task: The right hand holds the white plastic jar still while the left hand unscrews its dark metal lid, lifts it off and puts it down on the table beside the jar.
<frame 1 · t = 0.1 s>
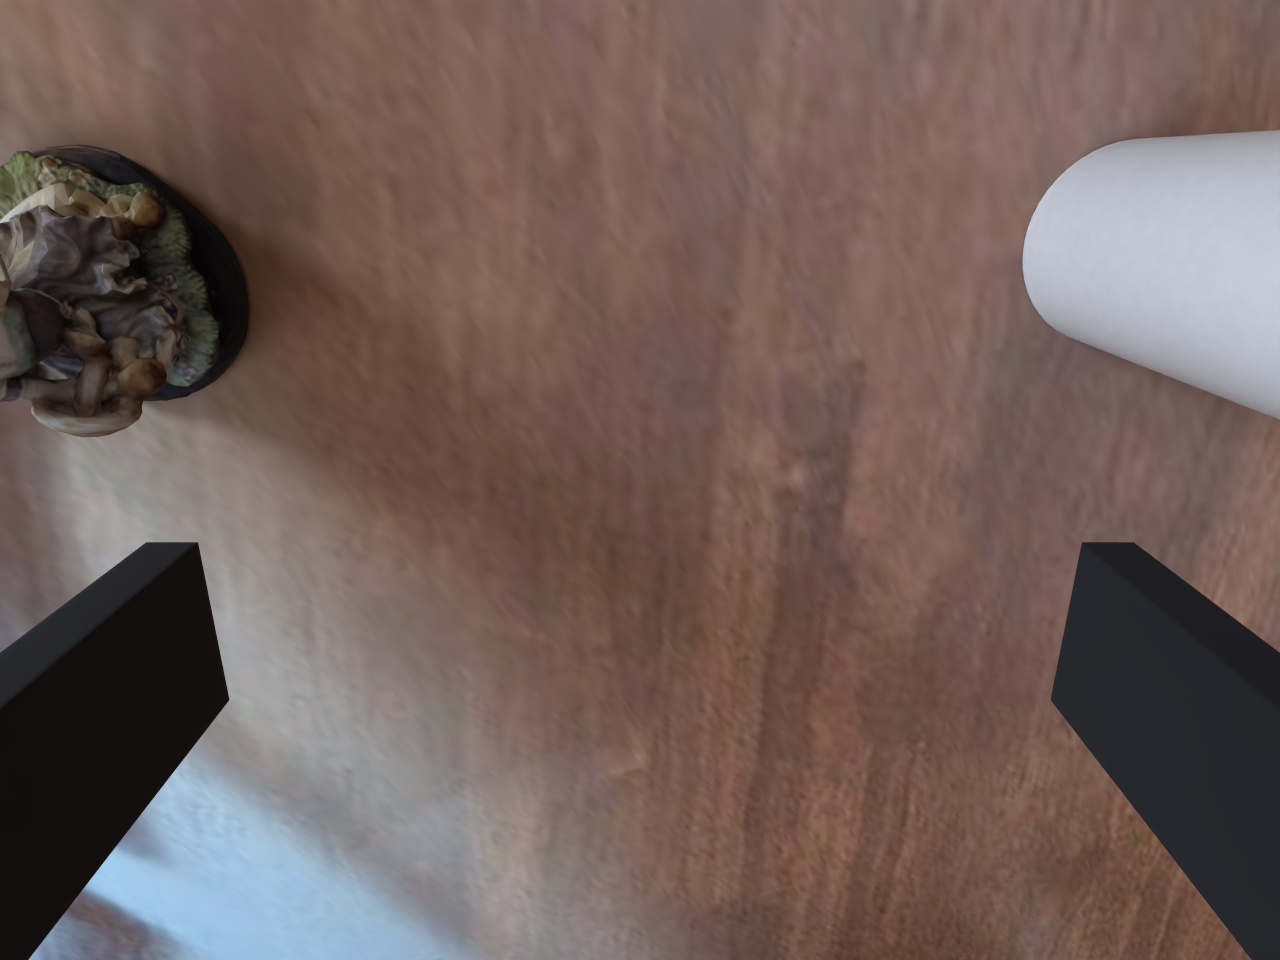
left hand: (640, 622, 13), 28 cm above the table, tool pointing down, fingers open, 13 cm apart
figurine: (121, 277, 38), on the table
jar: (1122, 245, 38), on the table
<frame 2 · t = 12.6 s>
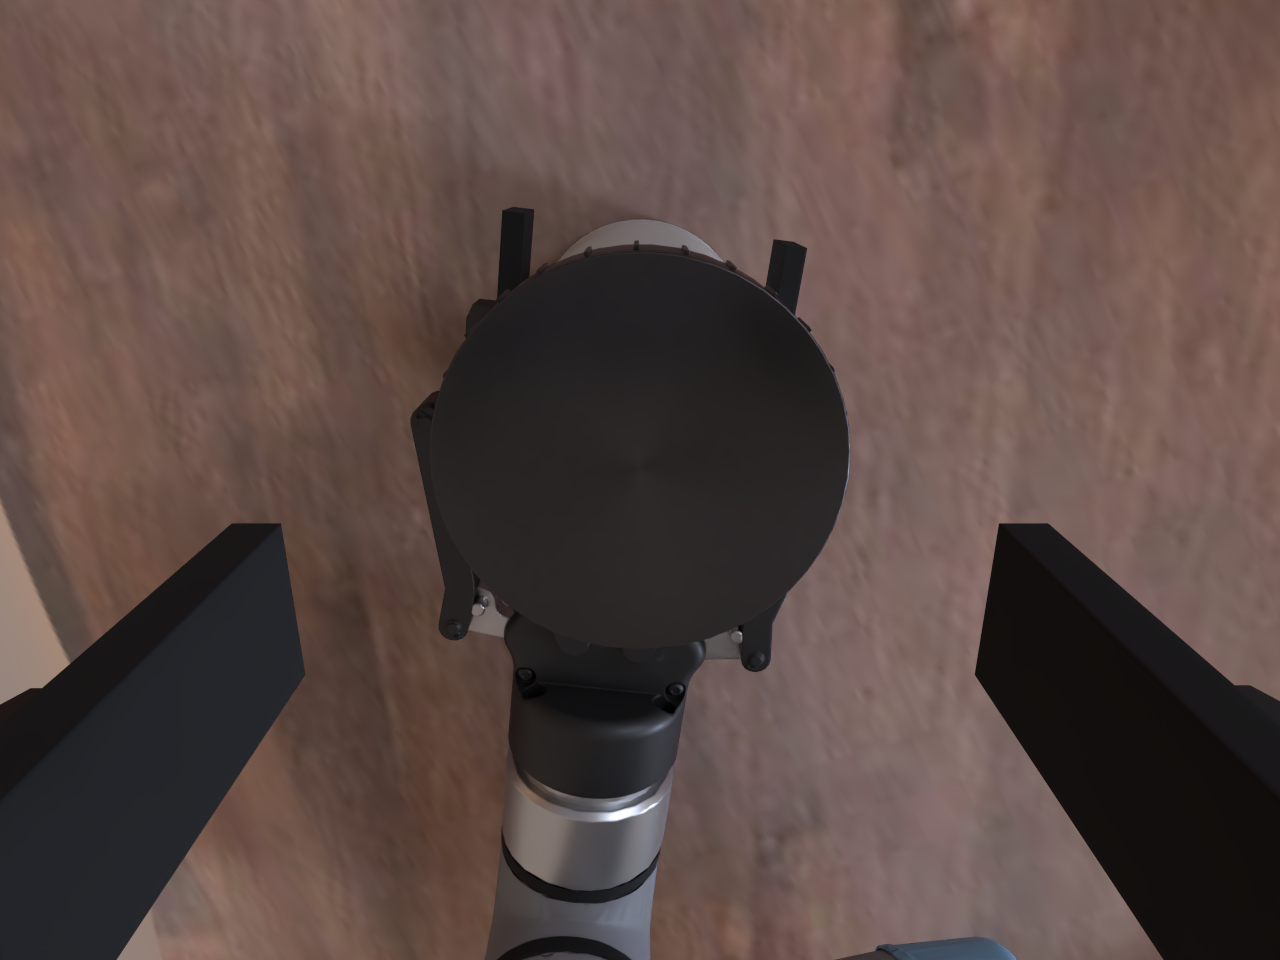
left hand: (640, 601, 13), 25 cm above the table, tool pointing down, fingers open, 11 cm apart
jar: (639, 325, 37), on the table, touching right hand
lid: (639, 462, 20), point 19 cm above the table, screwed on, not yet turned
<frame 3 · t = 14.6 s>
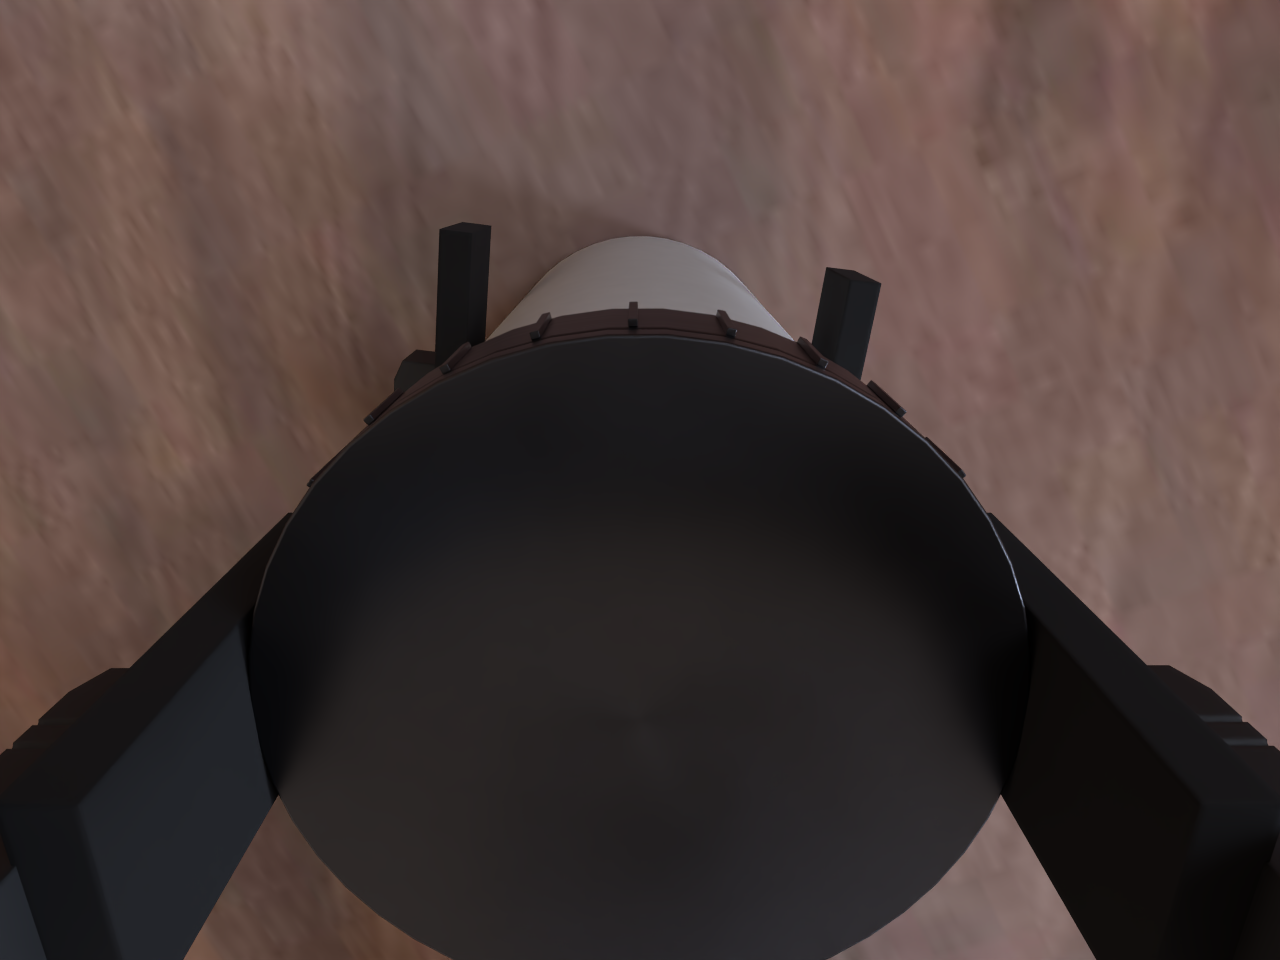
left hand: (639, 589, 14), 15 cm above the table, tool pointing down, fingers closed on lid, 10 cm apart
jar: (639, 374, 28), on the table, touching right hand
lid: (639, 704, 11), point 19 cm above the table, screwed on, not yet turned, touching left hand
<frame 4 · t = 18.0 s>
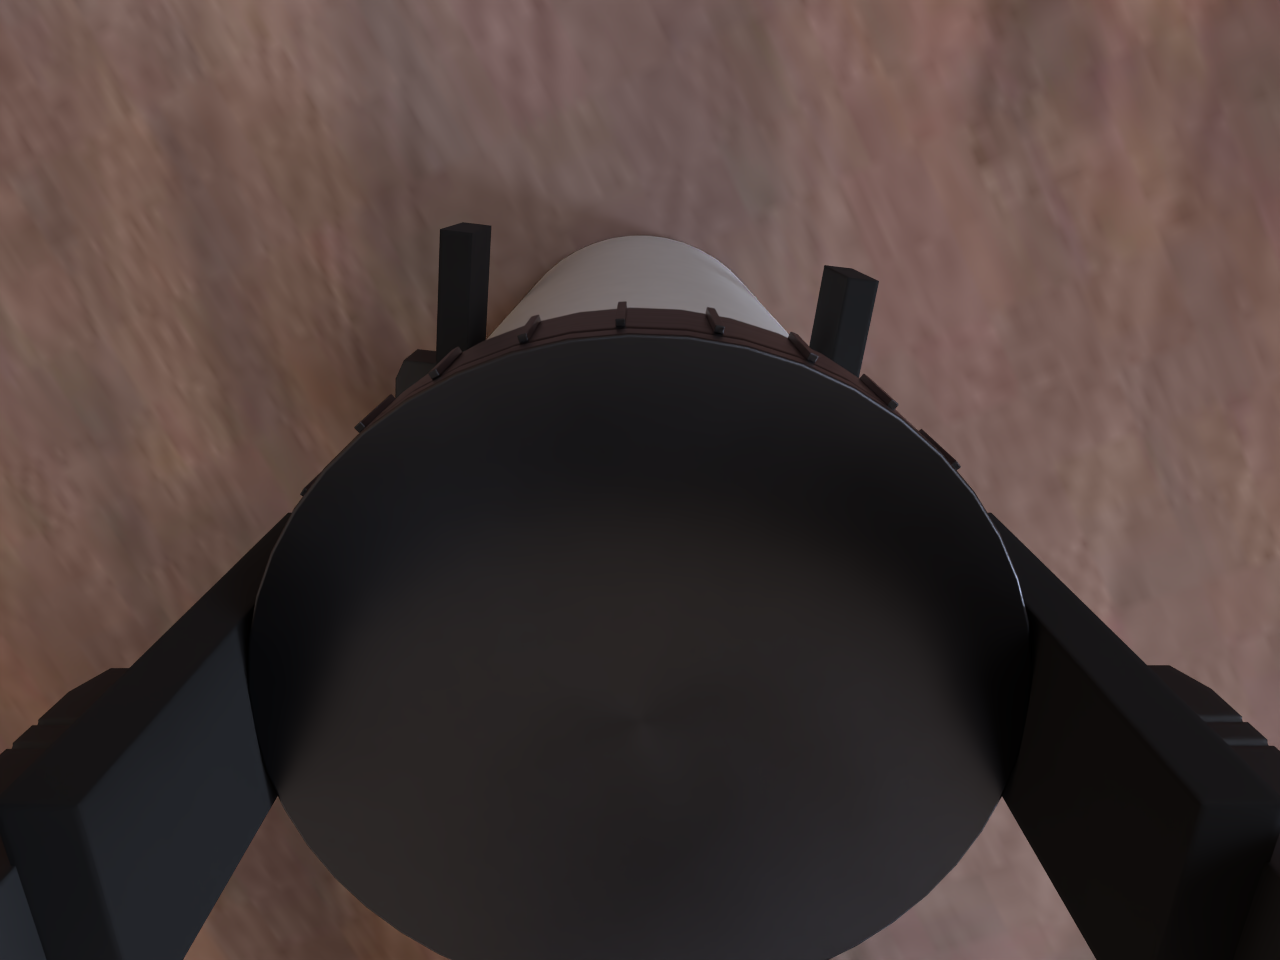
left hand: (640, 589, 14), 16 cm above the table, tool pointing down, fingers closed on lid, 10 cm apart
jar: (639, 373, 28), on the table, touching right hand
lid: (639, 704, 11), point 19 cm above the table, turned 117° so far, risen 0.2 cm, still on its thread, touching left hand
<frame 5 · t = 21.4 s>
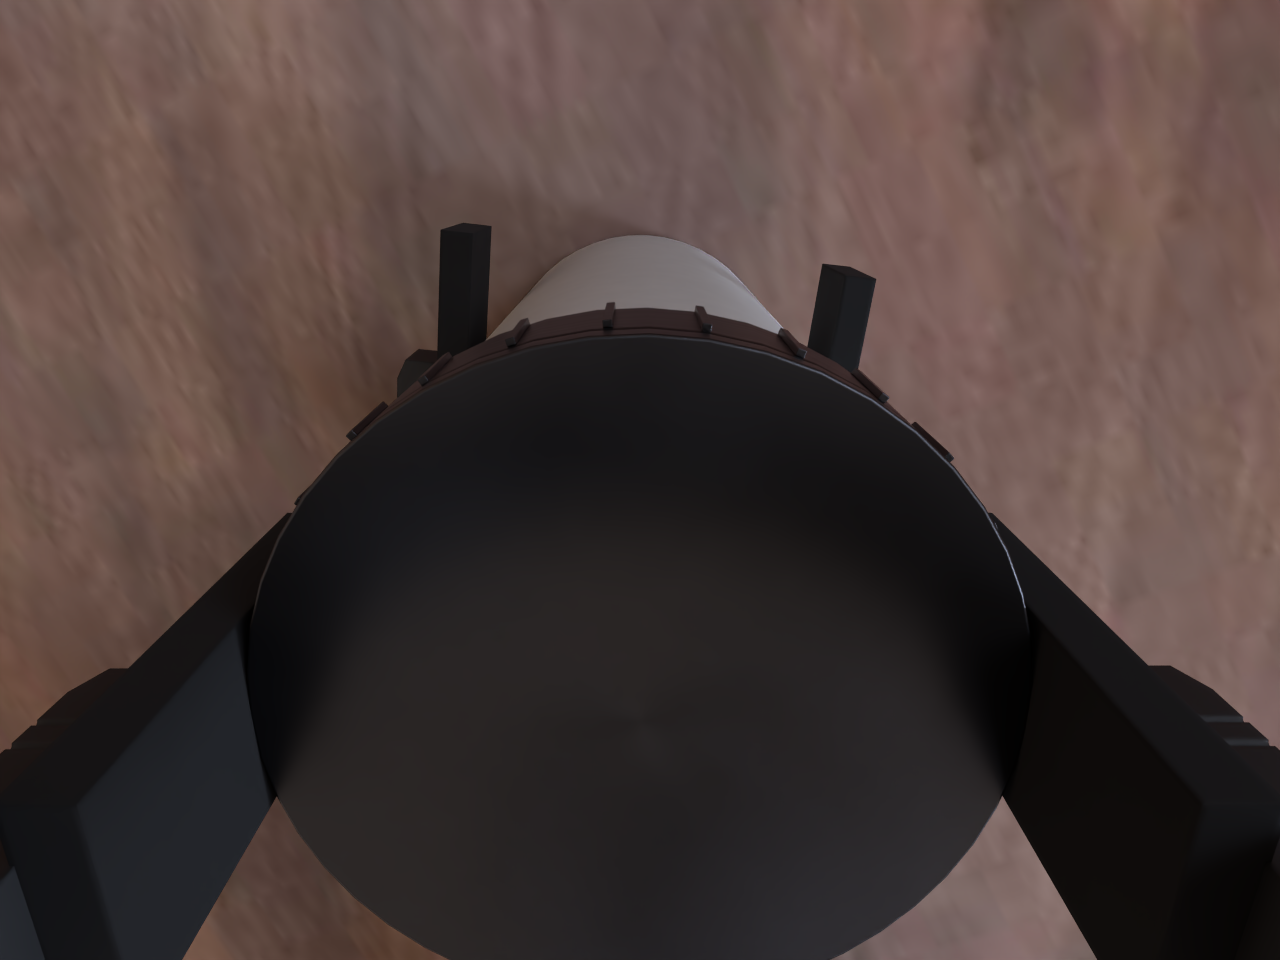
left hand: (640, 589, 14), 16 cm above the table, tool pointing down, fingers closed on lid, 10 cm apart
jar: (639, 371, 28), on the table, touching right hand
lid: (639, 705, 11), point 19 cm above the table, turned 234° so far, risen 0.4 cm, still on its thread, touching left hand
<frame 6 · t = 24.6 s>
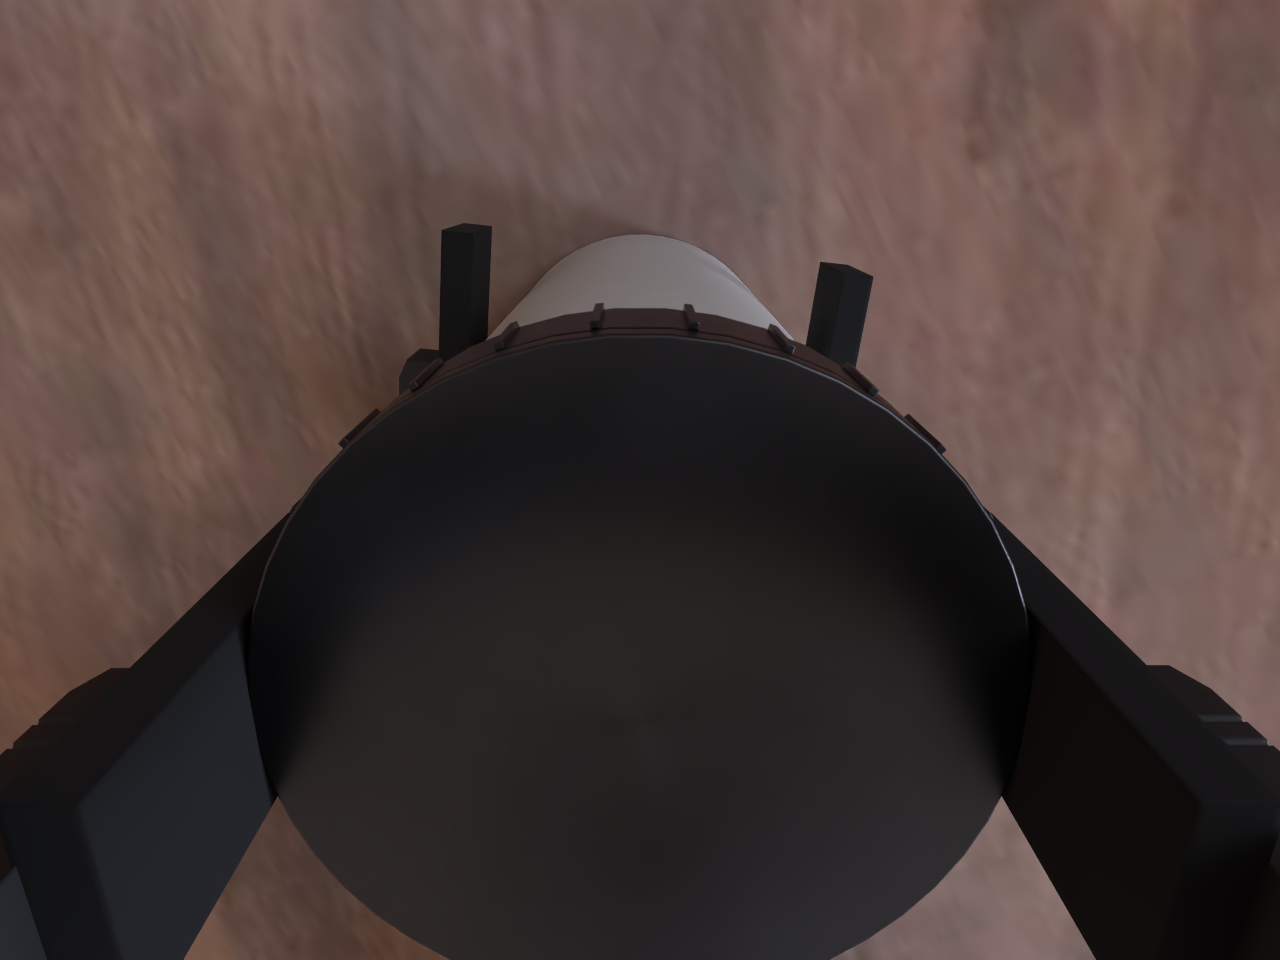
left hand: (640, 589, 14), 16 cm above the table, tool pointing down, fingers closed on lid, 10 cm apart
jar: (639, 370, 29), on the table, touching right hand
lid: (639, 704, 11), point 19 cm above the table, turned 351° so far, risen 0.6 cm, still on its thread, touching left hand
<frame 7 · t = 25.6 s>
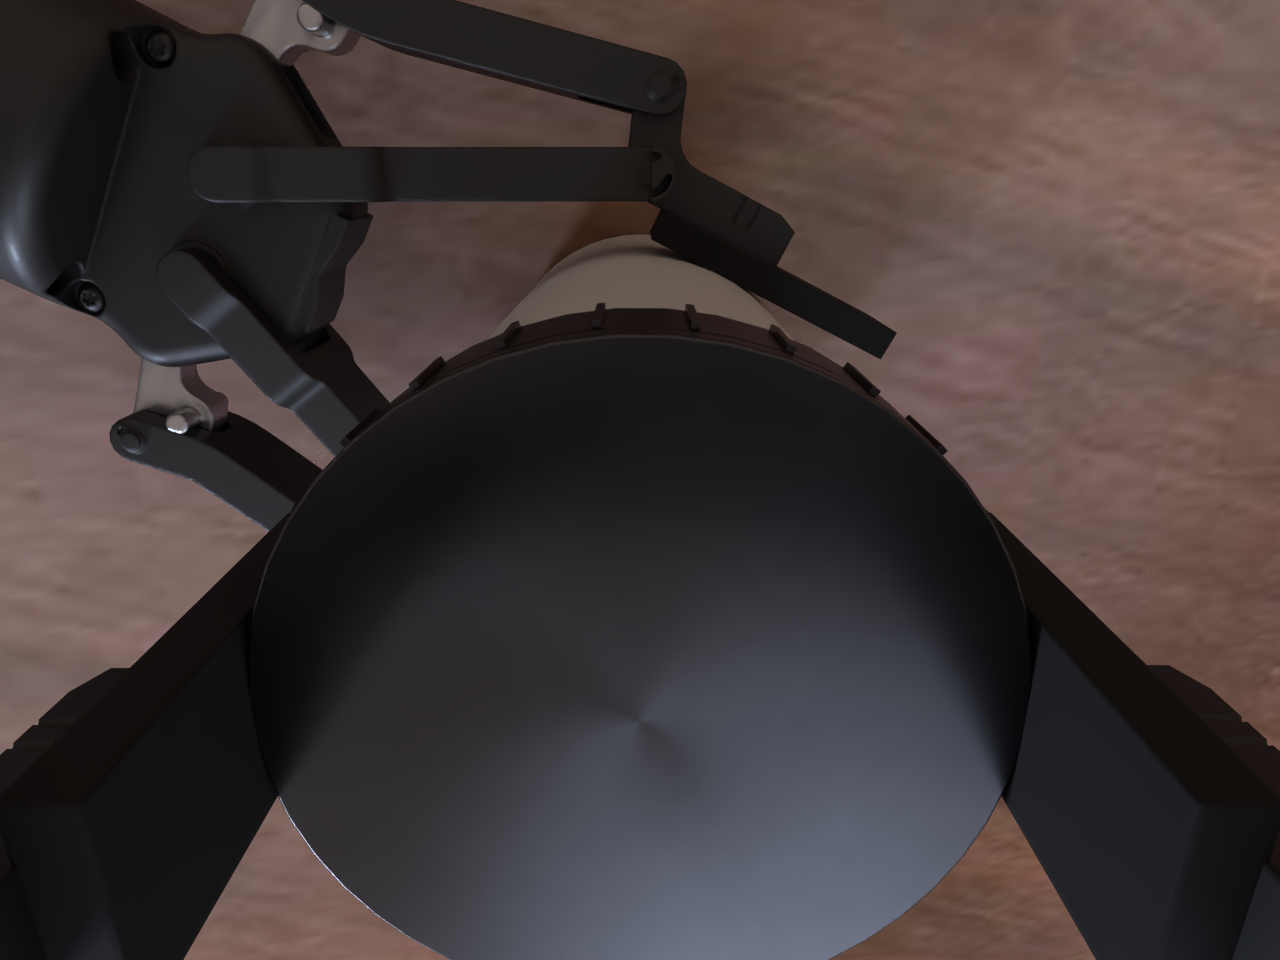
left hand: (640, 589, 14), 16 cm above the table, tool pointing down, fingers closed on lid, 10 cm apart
right hand: (783, 487, 24), fingers closed on jar, 9 cm apart
jar: (639, 369, 29), on the table, touching right hand
lid: (639, 704, 11), point 19 cm above the table, off its thread, touching left hand
when the left hand's fingers open (0 cm above the table, at t = 32.0 s): lid drops 2 cm, point 2 cm above the table.
when the right hand's fingers open (6 cm above the table, at t = 33.1 s): jar stays where it is, on the table.
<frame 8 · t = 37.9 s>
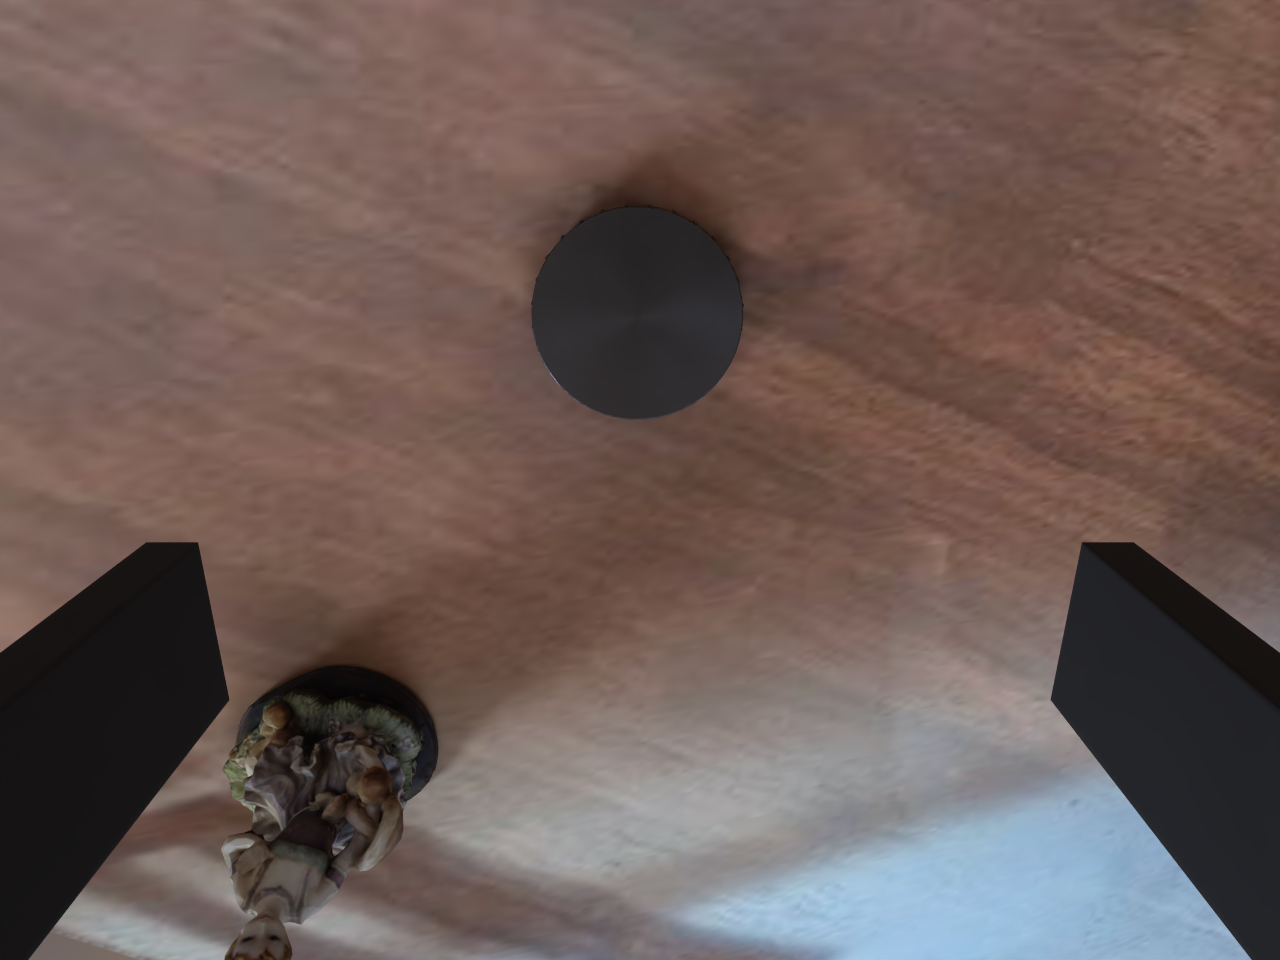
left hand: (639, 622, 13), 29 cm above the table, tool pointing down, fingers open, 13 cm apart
figurine: (338, 745, 49), on the table
lid: (637, 316, 39), point 2 cm above the table, off its thread
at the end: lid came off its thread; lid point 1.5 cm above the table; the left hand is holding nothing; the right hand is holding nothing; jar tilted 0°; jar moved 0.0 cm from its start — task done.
